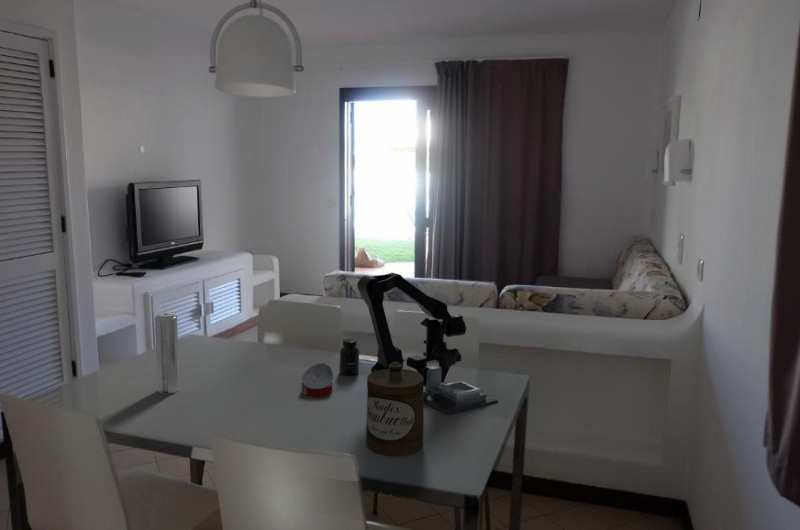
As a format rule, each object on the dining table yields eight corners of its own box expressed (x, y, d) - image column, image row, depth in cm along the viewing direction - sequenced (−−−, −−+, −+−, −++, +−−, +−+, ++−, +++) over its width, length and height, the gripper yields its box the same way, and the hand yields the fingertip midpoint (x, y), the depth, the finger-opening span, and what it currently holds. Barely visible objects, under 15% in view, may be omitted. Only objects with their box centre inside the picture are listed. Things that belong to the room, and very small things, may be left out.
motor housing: (447, 414, 179) (448, 400, 179) (419, 400, 191) (419, 386, 190) (497, 402, 191) (498, 388, 190) (468, 388, 202) (469, 375, 201)
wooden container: (356, 450, 155) (357, 366, 152) (379, 428, 169) (380, 351, 166) (411, 460, 150) (413, 374, 147) (430, 437, 164) (432, 358, 161)
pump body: (431, 392, 198) (432, 371, 197) (422, 387, 202) (423, 367, 201) (444, 389, 201) (444, 369, 200) (434, 385, 205) (435, 365, 204)
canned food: (333, 404, 198) (345, 381, 195) (308, 409, 191) (320, 385, 187) (314, 381, 205) (326, 358, 201) (290, 385, 197) (301, 361, 194)
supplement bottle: (349, 377, 211) (350, 344, 209) (335, 373, 215) (335, 340, 213) (362, 372, 216) (363, 340, 214) (348, 368, 220) (348, 336, 218)
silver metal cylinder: (183, 389, 196) (181, 313, 192) (168, 395, 190) (165, 317, 187) (168, 385, 199) (165, 310, 195) (152, 392, 193) (149, 314, 189)
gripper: (426, 348, 187) (425, 397, 189) (472, 340, 198) (471, 386, 200) (406, 339, 196) (404, 386, 198) (451, 332, 207) (449, 376, 209)
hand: (433, 384), depth 201 cm, fingers open, 7 cm apart
